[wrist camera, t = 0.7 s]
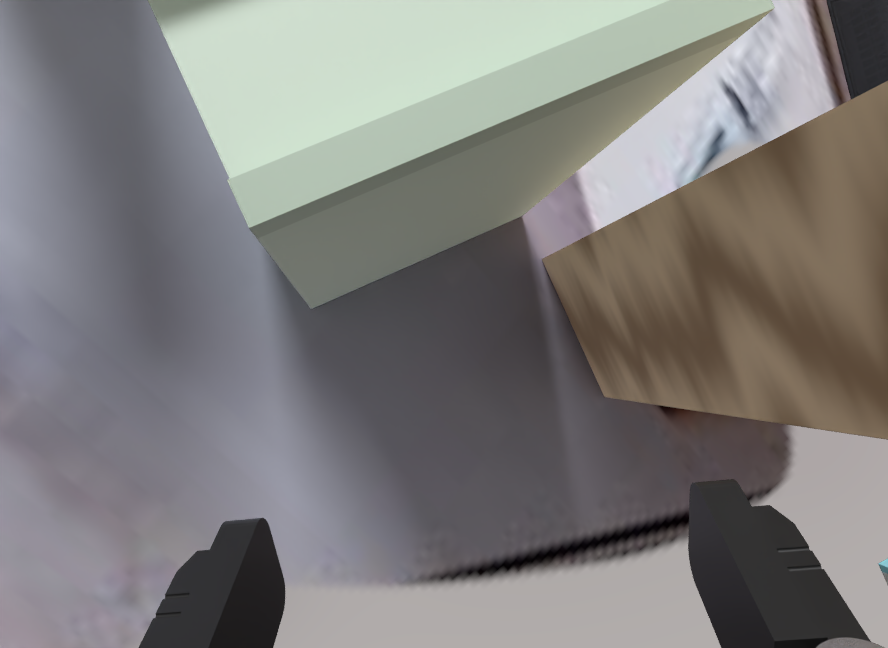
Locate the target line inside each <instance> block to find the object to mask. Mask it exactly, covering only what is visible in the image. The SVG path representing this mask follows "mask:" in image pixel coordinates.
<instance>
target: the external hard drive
mask: <svg viewBox="0 0 888 648" xmlns="http://www.w3.org/2000/svg"><path fill="white" fill-rule="evenodd" d="M827 4H828V7H829V11H830V16H831V20H832V24H833V28H834V31H835V35H836V40H837V43H838V47H839V51H840V55H841V59H842V64H843V68H844V71H845V76H846V80H847V83H848V88H849V92H850V95H851V99H853V98H855V97H857V96H859V95H861V94H863V93H865V92H867V91H869V90H871V89H873V88H875V87H877V86H879V85H881V84H882V83H884V82H886V81H888V0H827Z"/></svg>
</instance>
